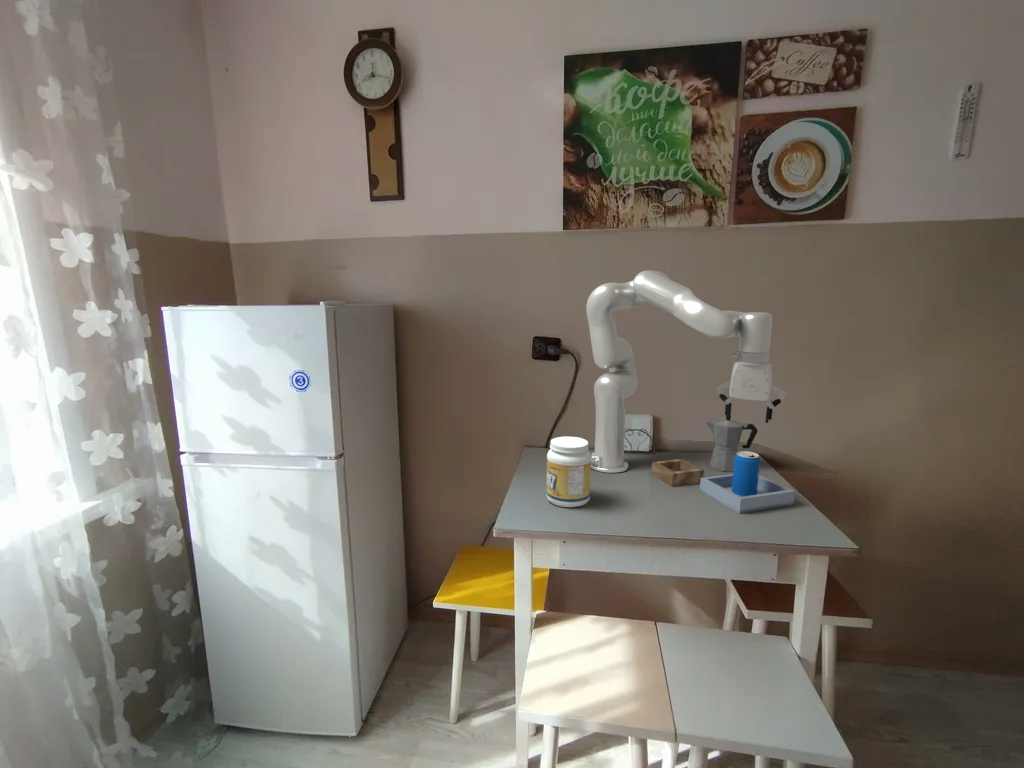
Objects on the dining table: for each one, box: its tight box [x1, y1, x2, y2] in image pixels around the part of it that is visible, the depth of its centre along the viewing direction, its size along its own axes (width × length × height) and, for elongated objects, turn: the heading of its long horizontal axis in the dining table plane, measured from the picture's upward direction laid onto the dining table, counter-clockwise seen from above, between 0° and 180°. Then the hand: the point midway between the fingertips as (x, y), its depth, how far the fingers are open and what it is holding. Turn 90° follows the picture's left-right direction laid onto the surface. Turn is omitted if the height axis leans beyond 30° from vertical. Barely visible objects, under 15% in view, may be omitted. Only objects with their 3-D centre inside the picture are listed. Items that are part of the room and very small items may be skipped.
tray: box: [699, 473, 796, 514], centre depth 142 cm, size 18×16×4 cm
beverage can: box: [732, 450, 761, 497], centre depth 141 cm, size 6×6×12 cm
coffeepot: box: [705, 415, 758, 473], centre depth 165 cm, size 15×9×18 cm, turn 67°
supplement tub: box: [545, 436, 592, 508], centre depth 139 cm, size 12×12×17 cm
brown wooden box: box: [651, 458, 705, 487], centre depth 157 cm, size 11×11×4 cm
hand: (747, 419), depth 139 cm, fingers open, 9 cm apart
